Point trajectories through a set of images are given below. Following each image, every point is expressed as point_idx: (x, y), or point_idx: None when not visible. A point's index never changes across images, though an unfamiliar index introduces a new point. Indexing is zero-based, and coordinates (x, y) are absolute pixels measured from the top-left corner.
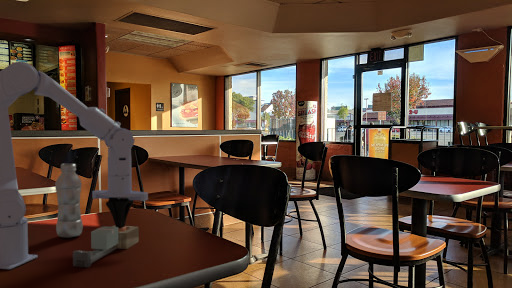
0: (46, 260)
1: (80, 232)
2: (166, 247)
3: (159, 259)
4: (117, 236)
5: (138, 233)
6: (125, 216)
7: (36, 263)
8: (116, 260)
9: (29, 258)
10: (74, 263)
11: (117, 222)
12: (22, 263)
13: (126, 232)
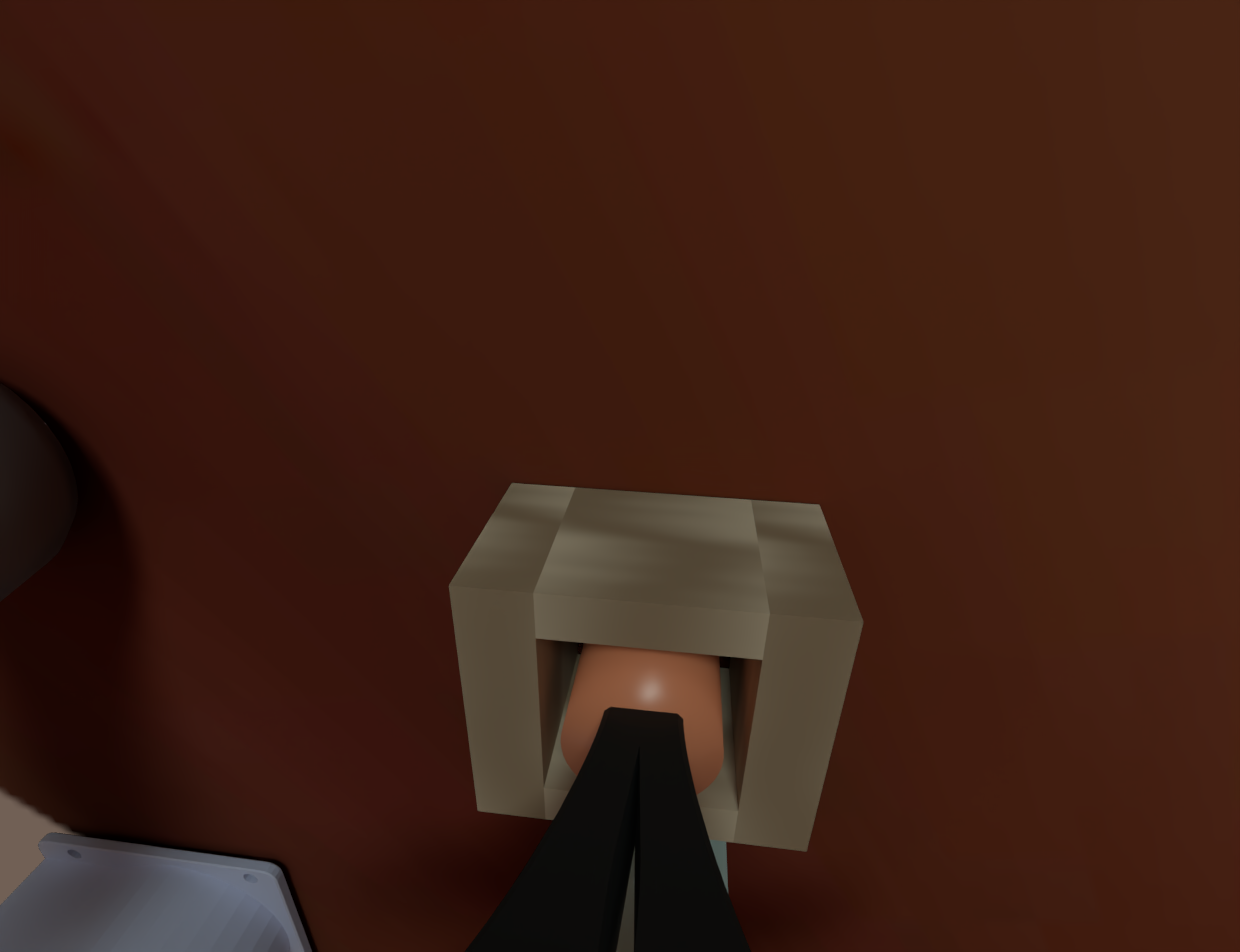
0: (367, 884)
1: (53, 470)
2: (1205, 632)
3: (1153, 868)
4: (723, 865)
5: (840, 566)
6: (691, 861)
7: (356, 914)
8: (808, 883)
9: (279, 909)
10: None
11: (628, 874)
12: (305, 939)
13: (794, 833)
